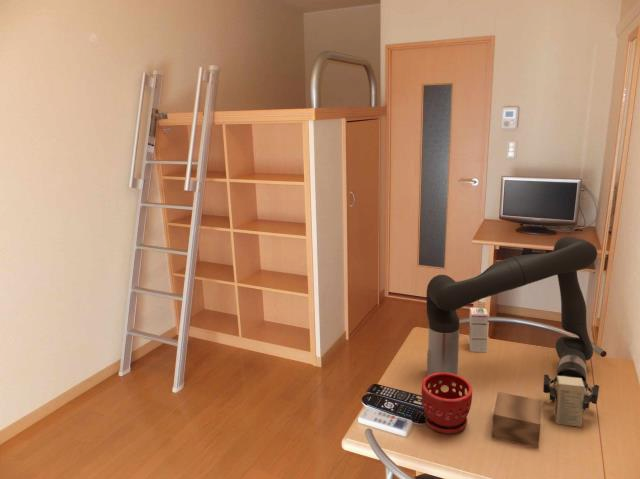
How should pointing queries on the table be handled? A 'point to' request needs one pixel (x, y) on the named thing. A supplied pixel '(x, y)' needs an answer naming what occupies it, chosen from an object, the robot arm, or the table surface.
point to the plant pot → (446, 402)
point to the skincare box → (569, 400)
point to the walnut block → (517, 419)
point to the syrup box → (478, 329)
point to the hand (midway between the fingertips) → (569, 402)
